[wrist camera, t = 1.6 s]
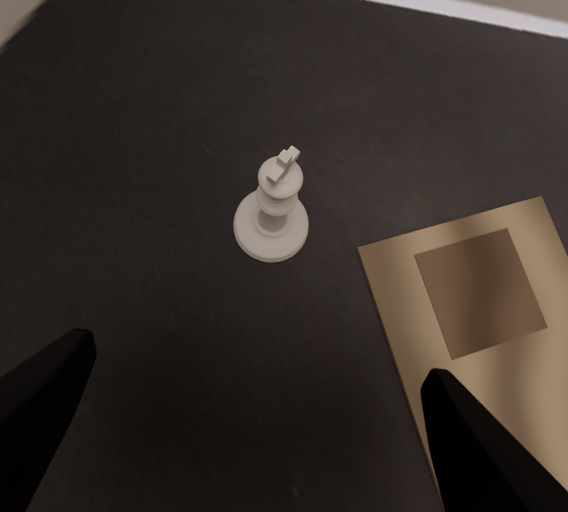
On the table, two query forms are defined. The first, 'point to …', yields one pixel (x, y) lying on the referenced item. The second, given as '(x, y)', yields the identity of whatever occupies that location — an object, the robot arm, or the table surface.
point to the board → (482, 319)
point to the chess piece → (273, 211)
